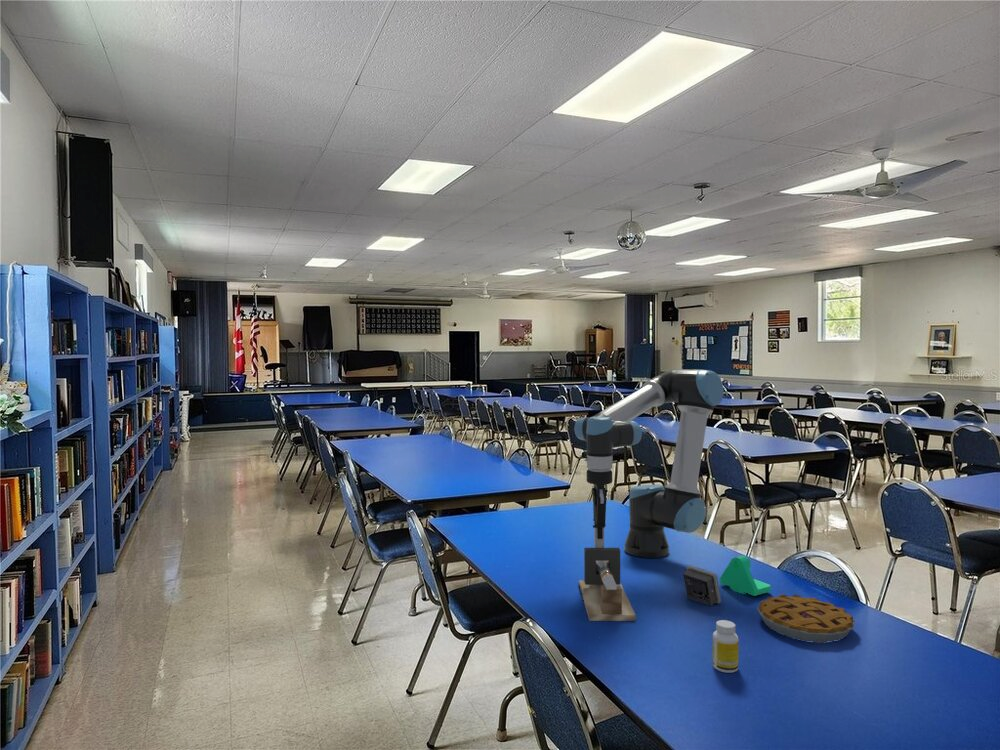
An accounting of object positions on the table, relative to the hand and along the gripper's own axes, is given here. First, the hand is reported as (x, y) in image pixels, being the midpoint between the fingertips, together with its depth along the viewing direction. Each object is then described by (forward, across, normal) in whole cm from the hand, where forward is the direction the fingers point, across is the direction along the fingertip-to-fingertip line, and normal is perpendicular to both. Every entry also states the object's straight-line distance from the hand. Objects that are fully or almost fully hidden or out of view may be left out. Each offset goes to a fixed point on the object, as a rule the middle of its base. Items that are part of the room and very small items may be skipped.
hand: (599, 548), depth 186 cm
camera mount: (+12, +2, +42) cm, 44 cm away
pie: (+12, +26, +48) cm, 56 cm away
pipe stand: (+12, +11, 0) cm, 16 cm away
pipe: (+5, +11, 0) cm, 12 cm away
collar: (+9, +5, 0) cm, 10 cm away
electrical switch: (+12, +10, +27) cm, 31 cm away
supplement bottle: (+12, +48, +21) cm, 53 cm away
